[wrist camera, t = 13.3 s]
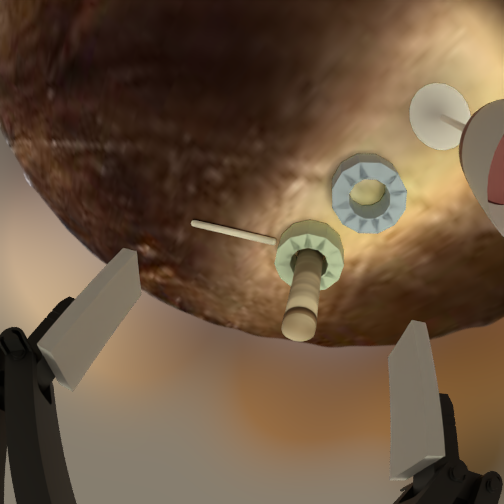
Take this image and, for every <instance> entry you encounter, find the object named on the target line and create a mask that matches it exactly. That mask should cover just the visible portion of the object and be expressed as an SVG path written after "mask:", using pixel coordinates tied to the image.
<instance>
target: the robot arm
mask: <svg viewBox="0 0 504 504" xmlns="http://www.w3.org/2000/svg"><path fill="white" fill-rule="evenodd" d="M140 296H141V287H140V279H139V270H138V261H137V252H136V251H132V250H129V249H125V248H123V249H122V250H121V251H120V252H119V253H118V254H117V255H116V256H115V257H114V258H113V259H112V260H111V261H110V262H109V263H108V264H107V265H106V266H105V267H104V269H103V270H102V271H101V272H100V273H99V274H98V275H97V276H96V277H95V278H94V279H93V280H92V281H91V282H90V283H89V285H88V286H87V287H86V288H85V289H84V290H83V291H82V292H81V293H80V294H79V295H78V297H77V298H76V299H74V298H72V297H68V298H66V299H64V300H62V301H61V302H60V303H58V305H57V306H56V307H55V308H54V309H53V311H52V312H50V313H49V314H48V316H47V318H45V319H44V320H43V322H41V324H40V325H39V326H38V327H37V328H36V329H35V331H34V332H33V333H32V334H31V335H30V336H29V338H28V339H27V338H26V336H25V334H24V332H23V331H22V330H21V329H20V328H17V327H11V328H8V329H6V330H4V331H3V332H2V333H1V335H0V504H4V476H5V462H6V451H7V447H8V456H9V463H10V470H11V477H12V483H13V488H14V493H15V498H16V502H17V504H76V500H75V497H74V493H73V490H72V486H71V483H70V478H69V475H68V471H67V466H66V462H65V457H64V452H63V447H62V443H61V437H60V431H59V425H58V419H57V412H56V404H55V397H54V387H53V383H52V381H53V379H54V378H55V377H56V379H57V381H58V382H59V384H60V385H62V386H64V387H65V388H67V389H69V390H71V391H74V390H75V388H76V386H77V385H78V384H79V382H80V381H81V379H82V377H83V376H84V375H85V373H86V371H87V370H88V369H89V367H90V366H91V364H92V363H93V361H94V360H95V358H96V357H97V356H98V354H99V353H100V351H101V350H102V348H103V347H104V346H105V344H106V343H107V341H108V340H109V338H110V337H111V336H112V334H113V333H114V331H115V330H116V328H117V327H118V326H119V324H120V323H121V322H122V320H123V319H124V318H125V316H126V315H127V313H128V312H129V311H130V309H131V308H132V307H133V305H134V303H136V301H137V300H138V298H139V297H140ZM388 366H389V383H390V412H391V451H390V477H389V480H407V479H408V478H410V477H412V476H413V483H411V484H409V485H407V486H405V487H403V488H402V489H401V490H400V491H404V490H405V491H404V492H403V493H402V495H401V496H400V497H399V498H398V499H397V500H396V501H395V502H394V503H393V504H498V501H499V498H500V494H501V491H502V485H503V483H502V479H501V477H500V475H499V474H498V473H497V472H494V471H490V472H487V473H486V474H484V475H480V474H477V473H474V472H471V471H468V469H467V466H466V465H465V463H464V462H463V461H461V460H460V459H459V453H458V442H457V433H456V426H455V418H454V410H453V404H452V402H451V400H450V398H449V396H448V394H441V393H439V391H438V385H437V378H436V372H435V367H434V361H433V356H432V351H431V346H430V341H429V336H428V332H427V327H426V323H423V322H419V321H414V320H412V321H411V322H410V324H409V325H408V327H407V329H406V330H405V332H404V334H403V335H402V337H401V338H400V340H399V341H398V343H397V344H396V346H395V348H394V349H393V351H392V352H391V354H390V355H389V357H388Z"/></svg>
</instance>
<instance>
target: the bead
mask: <svg viewBox="0 0 504 504" xmlns="http://www.w3.org/2000/svg"><path fill="white" fill-rule="evenodd" d="M306 248H310V249H315V250H318V251H320V252H321V253H322V254H323V255H324V256H325V257H326V258H325V259H324V260H323V262H322V273H321V283H320V290H324V289H327V288H328V287H329V286H331V285H332V284H333V283H335V282H336V281H337V280H339V277H340V274H341V272H342V269H343V266H344V249H343V246H342V242H341V239H340V235H339V234H338V233H337V232H336V231H334V230H333V229H332V228H331V227H330V226H329V225H328V224H326V223H322V222H318V221H313V220H306V221H302V222H298V223H294V224H293V225H291V226H290V227H289V228H288V229H287V230H286V231H285V232H284V233H283V234H282V236H281V239H280V243H279V246H278V249H277V254H276V259H275V263H274V264H275V266H276V269H277V271H278V274H279V276H280V278H281V279H282V280H284V281H285V282H286V283H287V284H289V285H290V286H291V284H292V280H293V275H294V271H295V266H296V261H297V257H296V254H295V253H296V252H297V251H298V250H301V249H306Z"/></svg>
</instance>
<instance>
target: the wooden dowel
mask: <svg viewBox="0 0 504 504" xmlns="http://www.w3.org/2000/svg"><path fill="white" fill-rule="evenodd" d="M322 262H323V254H322V253H321V252H320V251H318V250H315V249H310V248H306V249H301V250H299V252H298V256H297V261H296V266H295V271H294V275H293V280H292V284H291V289H290V293H289V298H288V302H287V307H286V311H285V314H284V318H283V322H282V332H283V334H284V335H285V336H286V337H287V338H289V339H291V340H294V341H306V340H309V339H311V338H312V337H313V336H314V334H315V329H316V324H317V311H318V302H319V293H320V283H321V273H322Z"/></svg>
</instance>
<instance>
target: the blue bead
mask: <svg viewBox="0 0 504 504" xmlns="http://www.w3.org/2000/svg"><path fill="white" fill-rule="evenodd" d="M364 179H376V180H378V181H379V182H381V183H383V184H384V185H386V186H385V194H384V195H383V197H382V199H381V200H380V201H379V202H377V203H375V204H373V205H360V204H358V203H357V202H355V201H353V200H352V198H351V197H350V195H349V193H350V192H351V190H352V188H353V187H354V185H355V184H357V183H359V182H360V181H362V180H364ZM406 195H407V190H406V188H405V186H404V184H403V182H402V180H401V178H400V176H399V175H398V172H397V171H396V169H395V167H394V166H393V164H392V163H390V162H388V161H387V160H385V159H384V158H382V157H380V156H379V155H377V154H356V155H354V156H352V157H351V158H349V159H347V160H345V161H343V162H342V163H341V164H340V166H339V167H338V169H337V171H336V173H335V174H334V176H333V178H332V208H333V210H334V211H335V213H336V215H337V216H338V218H339V219H340V221H341V223H342V224H343V225H345V226H347V227H349V228H351V229H352V230H354V231H356V232H358V233H377V234H378V233H380V232H382V231H384V230H386V229H388V228H390V227H392V226H394V225H395V224H396V222H397V221H398V220H399V218H400V217H401V215H402V214H403V212H404V211H405V208H406Z"/></svg>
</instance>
